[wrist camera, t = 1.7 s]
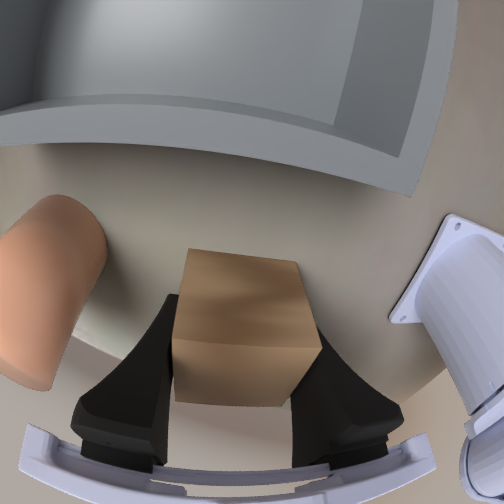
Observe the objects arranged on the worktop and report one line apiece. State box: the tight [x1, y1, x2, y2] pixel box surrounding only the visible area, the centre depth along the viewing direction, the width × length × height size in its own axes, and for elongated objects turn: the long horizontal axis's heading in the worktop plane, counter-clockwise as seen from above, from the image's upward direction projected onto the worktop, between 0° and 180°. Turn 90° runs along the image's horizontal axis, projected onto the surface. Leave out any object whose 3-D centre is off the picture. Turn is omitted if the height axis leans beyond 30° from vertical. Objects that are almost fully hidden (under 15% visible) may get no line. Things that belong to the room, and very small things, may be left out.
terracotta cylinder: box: [0, 195, 108, 391], centre depth 8 cm, size 5×5×7 cm
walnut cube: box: [172, 249, 322, 407], centre depth 12 cm, size 5×5×5 cm
